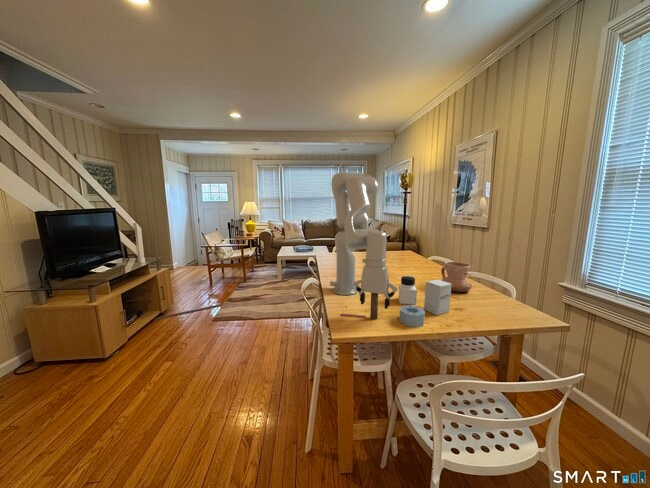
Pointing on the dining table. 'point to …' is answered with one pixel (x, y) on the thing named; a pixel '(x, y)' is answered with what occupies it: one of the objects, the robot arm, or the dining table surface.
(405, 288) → the medicine bottle
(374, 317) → the needle
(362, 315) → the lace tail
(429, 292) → the supplement box
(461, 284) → the ceramic jug
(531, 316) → the dining table surface
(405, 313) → the bead
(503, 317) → the dining table surface
